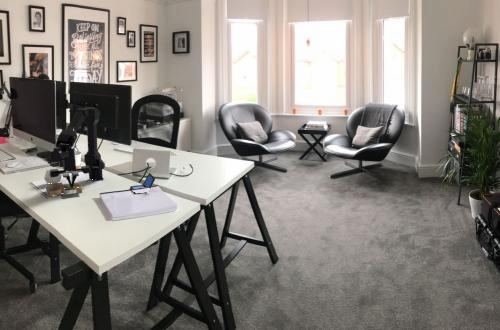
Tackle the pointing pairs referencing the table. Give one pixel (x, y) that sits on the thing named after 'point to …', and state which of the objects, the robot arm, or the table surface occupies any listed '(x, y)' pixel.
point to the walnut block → (56, 187)
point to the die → (52, 178)
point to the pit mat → (70, 195)
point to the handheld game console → (145, 182)
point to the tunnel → (58, 192)
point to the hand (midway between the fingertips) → (71, 187)
